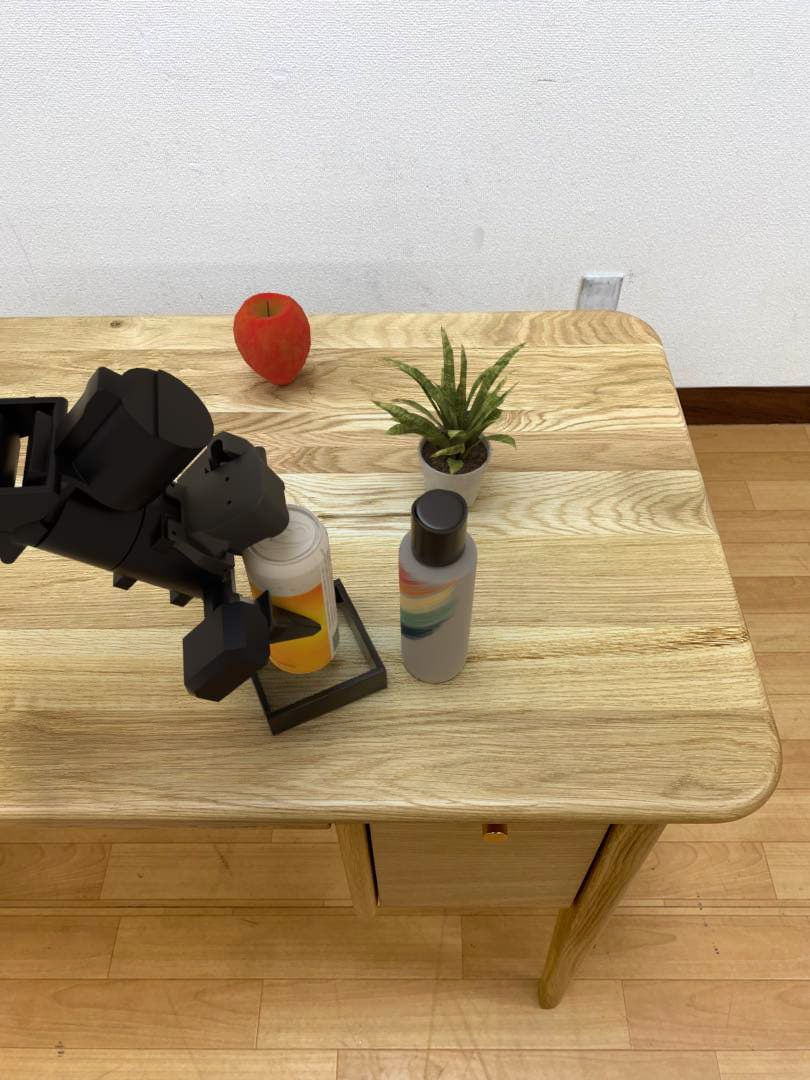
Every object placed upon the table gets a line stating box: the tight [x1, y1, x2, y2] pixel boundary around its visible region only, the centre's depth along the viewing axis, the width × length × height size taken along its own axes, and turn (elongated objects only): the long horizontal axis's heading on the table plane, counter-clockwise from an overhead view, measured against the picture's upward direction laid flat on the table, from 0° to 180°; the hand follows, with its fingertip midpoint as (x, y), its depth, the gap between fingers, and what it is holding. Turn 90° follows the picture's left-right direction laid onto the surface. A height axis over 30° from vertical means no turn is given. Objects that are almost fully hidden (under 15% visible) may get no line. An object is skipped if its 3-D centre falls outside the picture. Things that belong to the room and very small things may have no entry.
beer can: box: [241, 503, 341, 675], centre depth 58 cm, size 6×6×15 cm
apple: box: [232, 292, 312, 386], centre depth 85 cm, size 9×8×11 cm
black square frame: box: [250, 577, 388, 737], centre depth 65 cm, size 10×10×3 cm
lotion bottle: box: [397, 489, 478, 684], centre depth 59 cm, size 6×6×20 cm
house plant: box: [368, 324, 528, 509], centre depth 72 cm, size 14×14×16 cm
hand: (312, 595), depth 59 cm, fingers closed on beer can, 6 cm apart
